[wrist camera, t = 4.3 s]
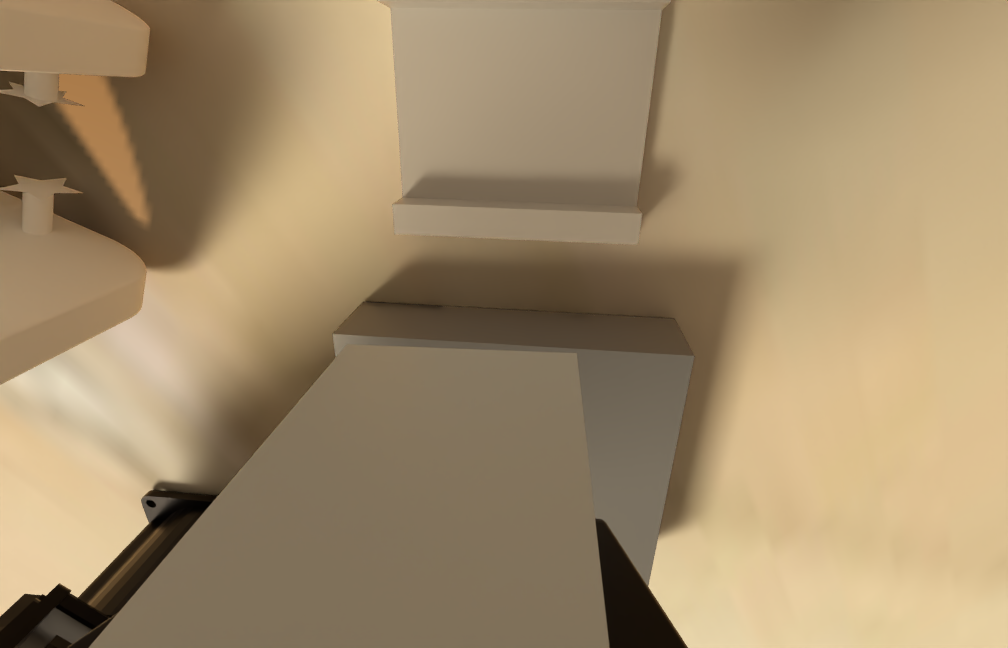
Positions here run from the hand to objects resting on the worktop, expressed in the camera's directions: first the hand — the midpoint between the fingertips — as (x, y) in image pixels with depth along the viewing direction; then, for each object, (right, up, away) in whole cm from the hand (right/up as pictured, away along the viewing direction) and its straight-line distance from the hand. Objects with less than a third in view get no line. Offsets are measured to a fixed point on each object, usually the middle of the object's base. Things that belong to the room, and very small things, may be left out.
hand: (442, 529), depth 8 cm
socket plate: (+1, -2, +14) cm, 14 cm away
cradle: (+2, +10, +9) cm, 13 cm away
